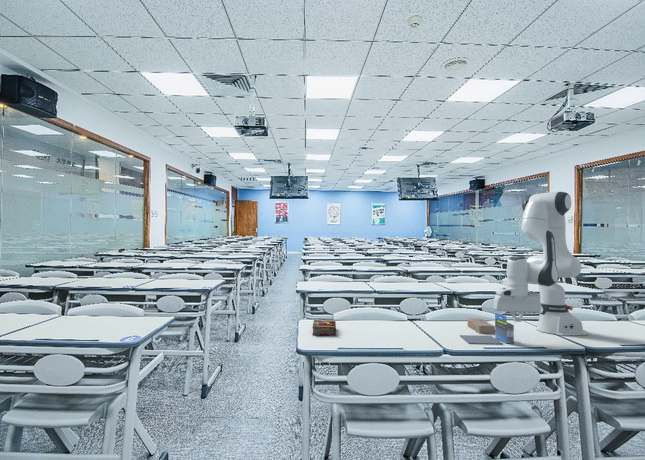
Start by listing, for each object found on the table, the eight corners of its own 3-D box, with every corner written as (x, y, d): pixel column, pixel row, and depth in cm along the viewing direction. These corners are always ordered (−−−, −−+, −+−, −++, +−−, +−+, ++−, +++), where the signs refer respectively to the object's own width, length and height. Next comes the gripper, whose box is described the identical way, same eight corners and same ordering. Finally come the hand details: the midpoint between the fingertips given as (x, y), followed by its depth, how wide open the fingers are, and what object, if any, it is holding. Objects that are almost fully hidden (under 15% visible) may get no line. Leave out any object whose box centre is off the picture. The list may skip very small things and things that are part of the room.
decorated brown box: (335, 328, 193) (335, 319, 193) (335, 337, 176) (335, 326, 177) (313, 328, 193) (313, 318, 193) (312, 336, 177) (312, 326, 177)
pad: (491, 336, 178) (491, 335, 178) (503, 344, 165) (503, 343, 165) (459, 336, 179) (459, 335, 179) (468, 343, 166) (468, 342, 166)
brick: (496, 334, 184) (496, 325, 184) (479, 334, 184) (479, 324, 184) (482, 326, 200) (482, 318, 200) (466, 326, 200) (466, 317, 201)
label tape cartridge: (514, 343, 167) (514, 316, 167) (506, 344, 166) (506, 316, 167) (502, 338, 176) (502, 312, 176) (494, 338, 175) (494, 312, 175)
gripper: (536, 290, 174) (536, 320, 174) (492, 290, 175) (492, 319, 175) (543, 292, 168) (544, 323, 167) (497, 291, 169) (497, 322, 168)
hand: (517, 321), depth 171 cm, fingers closed
